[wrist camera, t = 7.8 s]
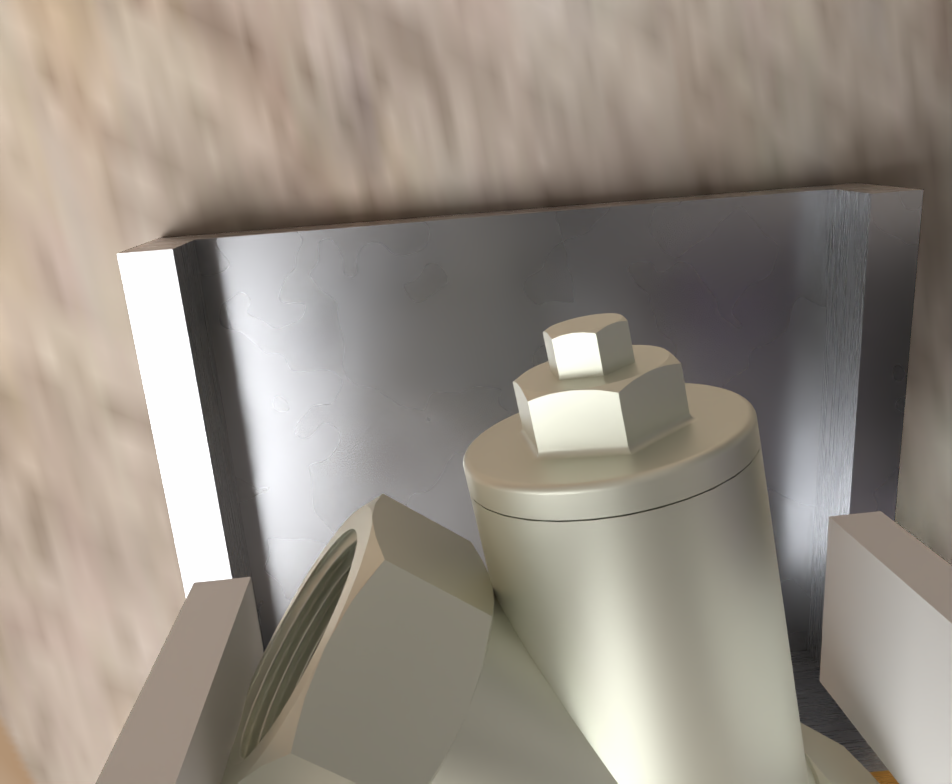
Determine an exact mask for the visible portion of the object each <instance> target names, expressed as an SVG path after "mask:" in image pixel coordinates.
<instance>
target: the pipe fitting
mask: <svg viewBox="0 0 952 784" xmlns="http://www.w3.org/2000/svg"><path fill="white" fill-rule="evenodd" d="M543 336H544V341H545V346H546V351H547V356H548V361H547V362H544V363H542V364H540V365H537V366H535V367H533V368H531V369H529V370H528V371H526V372H525V373H523V374H522V375H521V376H519V377H518V378H517V379H516V380H515V381H513V386H514V391H515V395H516V400H517V405H518V409H519V413H517V414H514V415H512V416H510V417H508V418H506V419H504V420H502V421H500V422H498V423H497V424H495V425H493V426H492V427H490V428H489V429H487V430H485V431H484V432H483V433H482V434H480V435H479V436H478V437H477V438H476V439H475V440H474V441H473V442H472V443H471V444H470V446H469V447H468V448H467V450H466V452H465V455H464V458H463V467H464V472H465V476H466V480H467V485H468V489H469V493H470V497H471V501H472V506H473V510H474V514H475V518H476V522H477V527H478V531H479V535H480V539H481V543H482V548H483V552H484V556H485V560H486V564H487V569H488V571H487V569H486V567H485V565H484V563H483V561H482V559H481V557H480V556H479V554H478V552H477V551H476V549H475V547H474V546H473V544H472V542H471V541H469V540H467V539H465V538H463V537H461V536H460V535H458V534H456V533H454V532H452V531H450V530H449V529H447V528H445V527H443V526H441V525H440V524H438V523H436V522H434V521H432V520H430V519H429V518H427V517H425V516H423V515H421V514H419V513H418V512H416V511H414V510H412V509H410V508H409V507H407V506H405V505H403V504H401V503H399V502H398V501H396V500H394V499H392V498H390V497H388V496H387V495H385V494H382V495H380V496H378V497H377V498H375V499H374V500H372V501H370V502H369V503H367V504H366V505H364V506H362V507H361V508H359V509H358V510H357V511H355V512H354V513H353V514H352V515H351V516H350V517H349V518H348V519H347V520H346V521H345V522H344V524H343V525H342V526H341V527H340V528H339V529H338V531H337V532H336V533H335V535H334V536H333V537H332V538H331V540H330V541H329V543H328V544H327V545H326V547H325V548H324V550H323V551H322V552H321V554H320V555H319V557H318V558H317V560H316V561H315V563H314V564H313V566H312V568H311V569H310V571H309V572H308V574H307V576H306V577H305V579H304V580H303V582H302V584H301V585H300V587H299V589H298V590H297V592H296V594H295V596H294V597H293V599H292V601H291V602H290V604H289V606H288V608H287V610H286V611H285V613H284V615H283V617H282V619H281V621H280V622H279V624H278V626H277V628H276V630H275V632H274V634H273V636H272V638H271V640H270V642H269V644H268V645H267V647H266V649H265V652H264V654H263V656H262V658H261V660H260V662H259V664H258V666H257V668H256V670H255V672H254V675H253V677H252V679H251V683H250V686H249V690H248V693H247V696H246V700H245V704H244V709H243V713H242V717H241V721H240V725H239V728H238V732H237V735H236V738H235V741H234V743H233V746H232V749H231V751H230V754H229V758H228V761H227V764H226V768H225V771H224V775H223V778H222V781H221V784H880V783H879V782H878V781H877V780H876V779H875V778H874V777H873V776H872V775H871V774H870V772H869V771H868V770H867V769H866V768H865V767H864V766H863V765H862V764H861V763H860V762H859V761H858V760H857V759H856V758H855V757H854V756H853V755H852V754H851V753H850V752H849V751H848V750H847V749H846V748H845V747H844V746H842V745H841V744H839V743H837V742H835V741H833V740H832V739H830V738H828V737H826V736H824V735H822V734H821V733H819V732H817V731H815V730H813V729H811V728H810V727H808V726H806V725H804V724H802V723H801V722H800V717H799V710H798V703H797V696H796V689H795V682H794V675H793V668H792V661H791V654H790V647H789V640H788V633H787V626H786V619H785V611H784V604H783V597H782V590H781V583H780V576H779V569H778V562H777V555H776V548H775V541H774V534H773V527H772V520H771V513H770V506H769V498H768V491H767V484H766V477H765V470H764V463H763V456H762V449H761V442H760V435H759V428H758V421H757V414H756V411H755V409H754V407H753V406H752V404H751V403H750V402H749V401H748V400H747V399H745V398H744V397H742V396H741V395H739V394H737V393H735V392H732V391H730V390H727V389H723V388H719V387H715V386H710V385H703V384H693V383H684V376H683V370H682V364H681V363H680V362H679V361H678V359H677V358H676V357H675V356H674V355H673V354H671V353H670V352H669V351H667V350H666V349H664V348H661V347H657V346H651V345H632V342H631V336H630V331H629V325H628V321H627V319H626V318H625V317H624V316H622V315H621V314H617V313H603V314H594V315H588V316H582V317H578V318H573V319H569V320H566V321H563V322H560V323H557V324H555V325H552V326H550V327H549V328H547V329H546V330H545V331H544V332H543Z"/></svg>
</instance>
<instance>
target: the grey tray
mask: <svg viewBox="0 0 952 784" xmlns="http://www.w3.org/2000/svg"><path fill="white" fill-rule="evenodd" d="M923 190H924V189H913V188H903V187H893V186H882V185H872V184H861V183H850V184H838V185H825V186H812V187H800V188H787V189H774V190H762V191H749V192H736V193H723V194H711V195H698V196H685V197H673V198H660V199H647V200H635V201H622V202H609V203H597V204H584V205H571V206H559V207H546V208H533V209H520V210H508V211H495V212H482V213H470V214H457V215H444V216H432V217H419V218H406V219H394V220H381V221H368V222H356V223H343V224H330V225H317V226H305V227H292V228H279V229H267V230H254V231H241V232H229V233H216V234H203V235H191V236H178V237H165V238H158V239H155V240H152V241H150V242H147V243H144V244H141V245H139V246H136V247H133V248H130V249H128V250H125V251H122V252H120V253H117V257H118V262H119V267H120V272H121V277H122V282H123V287H124V292H125V297H126V302H127V307H128V312H129V317H130V322H131V327H132V332H133V337H134V342H135V347H136V352H137V357H138V362H139V367H140V372H141V377H142V382H143V387H144V392H145V397H146V402H147V407H148V412H149V417H150V421H151V426H152V431H153V436H154V441H155V446H156V451H157V456H158V461H159V466H160V471H161V476H162V481H163V486H164V491H165V496H166V501H167V506H168V511H169V516H170V521H171V526H172V531H173V536H174V541H175V546H176V551H177V556H178V561H179V566H180V571H181V576H182V581H183V586H184V591H185V596H186V598H187V596H188V594H189V592H190V590H191V588H192V586H193V584H194V583H195V582H205V581H214V580H224V579H233V578H243V577H251V582H252V588H253V593H254V599H255V605H256V611H257V617H258V623H259V629H260V635H261V640H262V646H263V652H265V649H266V647H267V645H268V644H269V642H270V640H271V638H272V636H273V634H274V632H275V630H276V628H277V626H278V624H279V622H280V621H281V619H282V617H283V615H284V613H285V611H286V610H287V608H288V606H289V604H290V602H291V601H292V599H293V597H294V596H295V594H296V592H297V590H298V589H299V587H300V585H301V584H302V582H303V580H304V579H305V577H306V576H307V574H308V572H309V571H310V569H311V568H312V566H313V564H314V563H315V561H316V560H317V558H318V557H319V555H320V554H321V552H322V551H323V550H324V548H325V547H326V545H327V544H328V543H329V541H330V540H331V538H332V537H333V536H334V535H335V533H336V532H337V531H338V529H339V528H340V527H341V526H342V525H343V524H344V522H345V521H346V520H347V519H348V518H349V517H350V516H351V515H352V514H353V513H354V512H355V511H357V510H358V509H359V508H361V507H362V506H364V505H366V504H367V503H369V502H370V501H372V500H374V499H375V498H377V497H378V496H380V495H382V494H385V495H387V496H388V497H390V498H392V499H394V500H396V501H398V502H399V503H401V504H403V505H405V506H407V507H409V508H410V509H412V510H414V511H416V512H418V513H419V514H421V515H423V516H425V517H427V518H429V519H430V520H432V521H434V522H436V523H438V524H440V525H441V526H443V527H445V528H447V529H449V530H450V531H452V532H454V533H456V534H458V535H460V536H461V537H463V538H465V539H467V540H469V541H471V542H472V544H473V546H474V547H475V549H476V551H477V552H478V554H479V556H480V557H481V559H482V561H483V563H484V565H485V567H486V569H487V564H486V560H485V556H484V552H483V548H482V543H481V539H480V535H479V531H478V527H477V522H476V518H475V514H474V510H473V506H472V501H471V497H470V493H469V489H468V485H467V480H466V476H465V472H464V467H463V458H464V455H465V452H466V450H467V448H468V447H469V446H470V444H471V443H472V442H473V441H474V440H475V439H476V438H477V437H478V436H479V435H480V434H482V433H483V432H484V431H485V430H487V429H489V428H490V427H492V426H493V425H495V424H497V423H498V422H500V421H502V420H504V419H506V418H508V417H510V416H512V415H514V414H517V413H519V409H518V405H517V400H516V395H515V391H514V386H513V381H515V380H516V379H517V378H518V377H519V376H521V375H522V374H523V373H525V372H526V371H528V370H529V369H531V368H533V367H535V366H537V365H540V364H542V363H544V362H547V361H548V356H547V351H546V346H545V341H544V336H543V332H544V331H545V330H546V329H547V328H549V327H550V326H552V325H555V324H557V323H560V322H563V321H566V320H569V319H573V318H578V317H582V316H588V315H594V314H603V313H617V314H621V315H622V316H624V317H625V318H626V319H627V321H628V325H629V331H630V336H631V342H632V345H651V346H657V347H661V348H664V349H666V350H667V351H669V352H670V353H671V354H673V355H674V356H675V357H676V358H677V359H678V361H679V362H680V363H681V364H682V370H683V376H684V383H693V384H703V385H710V386H715V387H719V388H723V389H727V390H730V391H732V392H735V393H737V394H739V395H741V396H742V397H744V398H745V399H747V400H748V401H749V402H750V403H751V404H752V406H753V407H754V409H755V411H756V414H757V421H758V428H759V435H760V442H761V449H762V456H763V463H764V470H765V477H766V484H767V491H768V498H769V506H770V513H771V520H772V527H773V534H774V541H775V548H776V555H777V562H778V569H779V576H780V583H781V590H782V597H783V604H784V611H785V619H786V626H787V633H788V640H789V647H790V654H791V661H792V668H793V675H794V682H795V689H796V696H797V703H798V710H799V717H800V722H801V723H802V724H804V725H806V726H808V727H810V728H811V729H813V730H815V731H817V732H819V733H821V734H822V735H824V736H826V737H828V738H830V739H832V740H833V741H835V742H837V743H839V744H841V745H842V746H844V747H845V748H846V749H847V750H848V751H849V752H850V753H851V754H852V755H853V756H854V757H855V758H856V759H857V760H858V761H859V762H860V763H861V764H862V765H863V766H864V767H865V768H866V769H867V770H868V771H869V772H870V774H871V775H872V776H873V777H874V778H875V779H876V780H877V781H878V782H879V783H880V784H899V783H898V782H897V780H896V779H895V778H894V777H893V775H892V774H891V773H890V771H889V770H888V769H887V768H886V766H885V765H884V764H883V762H882V761H881V760H880V759H879V757H878V756H877V755H876V753H875V752H874V751H873V749H872V748H871V747H870V746H869V744H868V743H867V742H866V740H865V739H864V738H863V737H862V735H861V734H860V733H859V731H858V730H857V729H856V728H855V726H854V725H853V724H852V722H851V721H850V720H849V719H848V717H847V716H846V715H845V713H844V712H843V711H842V709H841V708H840V707H839V706H838V704H837V703H836V702H835V700H834V699H833V698H832V697H831V695H830V694H829V693H828V691H827V690H826V689H825V688H824V686H823V685H822V684H821V682H820V663H821V646H822V628H823V611H824V593H825V576H826V558H827V541H828V524H829V516H838V515H848V514H858V513H867V512H877V511H881V512H883V513H884V514H885V515H886V516H888V517H889V518H890V519H892V520H893V521H895V509H896V498H897V486H898V475H899V464H900V452H901V441H902V429H903V418H904V407H905V395H906V384H907V372H908V361H909V350H910V338H911V327H912V315H913V304H914V293H915V281H916V270H917V258H918V247H919V236H920V224H921V213H922V202H923ZM487 571H488V569H487Z"/></svg>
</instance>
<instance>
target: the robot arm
mask: <svg viewBox="0 0 952 784" xmlns="http://www.w3.org/2000/svg"><path fill="white" fill-rule="evenodd" d="M263 654H264V652H263V646H262V640H261V635H260V629H259V623H258V617H257V611H256V605H255V599H254V593H253V588H252V582H251V577H243V578H233V579H224V580H214V581H205V582H195V583H194V584H193V586H192V588H191V590H190V592H189V594H188V596H187V598H186V600H185V602H184V604H183V606H182V608H181V610H180V612H179V614H178V616H177V618H176V620H175V623H174V625H173V627H172V629H171V631H170V633H169V635H168V637H167V639H166V641H165V643H164V645H163V647H162V649H161V651H160V653H159V655H158V657H157V659H156V661H155V663H154V665H153V667H152V670H151V672H150V674H149V676H148V678H147V680H146V682H145V684H144V686H143V688H142V690H141V692H140V694H139V696H138V698H137V700H136V702H135V704H134V706H133V708H132V710H131V712H130V714H129V717H128V719H127V721H126V723H125V725H124V727H123V729H122V731H121V733H120V735H119V737H118V739H117V741H116V743H115V745H114V747H113V749H112V751H111V753H110V755H109V757H108V759H107V761H106V764H105V766H104V768H103V770H102V772H101V774H100V776H99V778H98V780H97V782H96V784H221V781H222V778H223V775H224V771H225V768H226V764H227V761H228V758H229V754H230V751H231V749H232V746H233V743H234V741H235V738H236V735H237V732H238V728H239V725H240V721H241V717H242V713H243V709H244V704H245V700H246V696H247V693H248V690H249V686H250V683H251V679H252V677H253V675H254V672H255V670H256V668H257V666H258V664H259V662H260V660H261V658H262V656H263ZM820 682H821V684H822V685H823V686H824V688H825V689H826V690H827V691H828V693H829V694H830V695H831V697H832V698H833V699H834V700H835V702H836V703H837V704H838V706H839V707H840V708H841V709H842V711H843V712H844V713H845V715H846V716H847V717H848V719H849V720H850V721H851V722H852V724H853V725H854V726H855V728H856V729H857V730H858V731H859V733H860V734H861V735H862V737H863V738H864V739H865V740H866V742H867V743H868V744H869V746H870V747H871V748H872V749H873V751H874V752H875V753H876V755H877V756H878V757H879V759H880V760H881V761H882V762H883V764H884V765H885V766H886V768H887V769H888V770H889V771H890V773H891V774H892V775H893V777H894V778H895V779H896V780H897V782H898V783H899V784H952V565H951V564H949V563H948V562H947V561H945V560H944V559H943V558H941V557H940V556H939V555H938V554H936V553H935V552H934V551H932V550H931V549H930V548H928V547H927V546H926V545H924V544H923V543H922V542H920V541H919V540H918V539H917V538H915V537H914V536H913V535H911V534H910V533H909V532H907V531H906V530H905V529H903V528H902V527H901V526H900V525H898V524H897V523H896V522H894V521H893V520H892V519H890V518H889V517H888V516H886V515H885V514H884V513H883V512H881V511H877V512H867V513H858V514H848V515H838V516H829V524H828V541H827V558H826V576H825V593H824V611H823V628H822V646H821V663H820Z"/></svg>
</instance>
